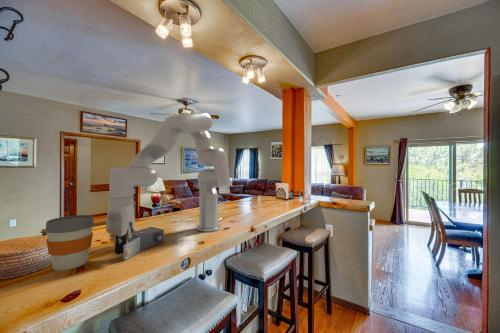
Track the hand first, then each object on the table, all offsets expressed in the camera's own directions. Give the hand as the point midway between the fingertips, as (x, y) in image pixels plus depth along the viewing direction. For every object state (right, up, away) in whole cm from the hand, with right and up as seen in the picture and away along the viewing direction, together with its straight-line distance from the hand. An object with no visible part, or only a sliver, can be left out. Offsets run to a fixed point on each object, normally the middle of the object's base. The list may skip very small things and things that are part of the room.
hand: (120, 252), depth 78 cm
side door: (+3, -2, +2) cm, 4 cm away
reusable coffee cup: (-14, -2, -5) cm, 15 cm away
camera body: (+3, -2, +13) cm, 14 cm away
